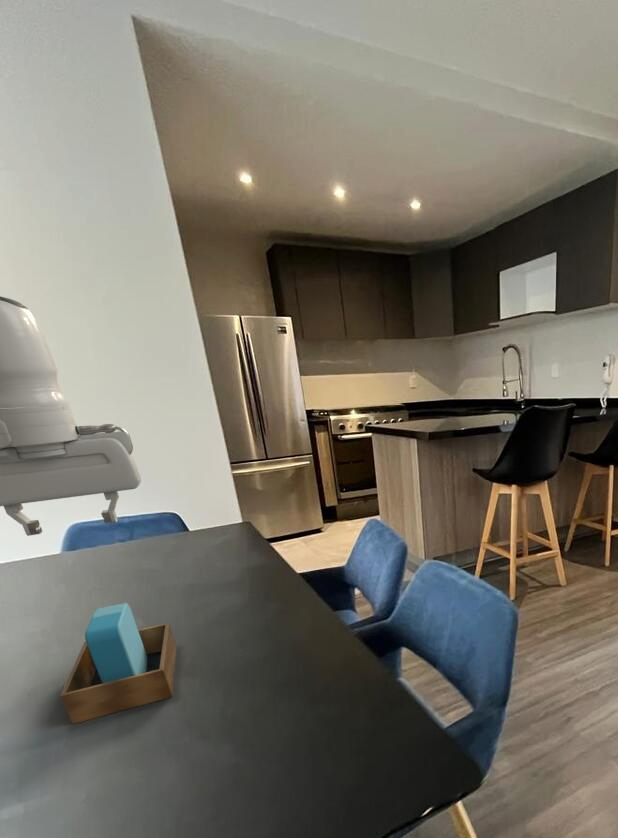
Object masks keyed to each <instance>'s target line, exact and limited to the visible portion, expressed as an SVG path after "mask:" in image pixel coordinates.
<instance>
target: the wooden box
mask: <svg viewBox="0 0 618 838" xmlns="http://www.w3.org/2000/svg"><path fill="white" fill-rule="evenodd" d="M171 627H172V626H171V625H170V622H166V623H162V624H158V625H154V626H149V627H144V628H139V629H138V632H139V634H140V637H141V640H142V643H143V646H144V649H145V652H146V655H147V656H148V655H151V654H155V653H159V652H161V654H160V661H159V669H155V670H150V671H146V673H143V674H139V675H135V676H131V677H127V678H123V679H119V680H115V681H111V682H107V683H100V684H96V685H92V683H93V681H94V677H95V675H96V673H97V668H96V666H95V664H94V661H93V659H92V656H91V654H90V651H89V649H88V646H87V643H86V640H85V641H84V642H83V644H82V646H81V649H80V651H79V653H78V655H77V657H76V659H75V662H74V664H73V666H72V669H71V671H70V673H69V676H68V678H67V680H66V682H65V684H64V687H63V689H62V691H61V693H60V700H61V702H62V703H63V706H64V708H65V710H66V713H67V715H68V717H69V719H70V722H71V724H72V725H74V724H78V723H81V722H85V721H90V720H93V719H97V718H100V717H102V716H107V715H111V714H115V713H118V712H121V711H126V710H129V709H133V708H136V707H141V706H143V705H147V704H152V703H154V702H157V701H162V700H166V699H169V698H172V697H173V693H174V683H175V682H174V680H175V670H176V669H175V668H176V657H177V643H176V640H175V636H174V634H173V631H172V628H171Z"/></svg>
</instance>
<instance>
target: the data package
mask: <svg viewBox="0 0 618 838" xmlns="http://www.w3.org/2000/svg"><path fill="white" fill-rule="evenodd" d="M138 630H139V629H138V626H137V623H136V621H135V618H134V614H133V612H132V609H131V606H130V605H129V604H128V602H123V603H119V604H115V605H110V606H109V605H108V606H104V607H99V608H96V609H95V610H94V613H93V615H92V616H91V619H90V622H89V624H88V625H87V628H86V631H85V634H84V638H85V641H86V643H87V646H88V649H89V651H90V654H91V656H92V659H93V661H94V664H95V666H96V668H97V669H96V672H97V673H98V676H99V678H100V680H101V684H103V683H107V682H111V681H115V680H119V679H123V678H127V677H131V676H135V675H139V674H143V673H146V672H148V671H147V670H148V665H149V660H148V655H146V652H145V649H144V646H143V643H142V640H141V637H140V634H139V632H138Z"/></svg>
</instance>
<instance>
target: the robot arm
mask: <svg viewBox="0 0 618 838" xmlns="http://www.w3.org/2000/svg"><path fill="white" fill-rule="evenodd" d="M116 430H117V431H116ZM133 450H134V447H133V442H132V439H131V436H130V434H129V432H128V431H127V430H125V429H124V428H122V427H120V426H117V425H115V424H114V423H104V424H100V425H80V426H77V423H76V421H75V418H74V415H73V412H72V409H71V407H70V404H69V400H68V399H67V398H66V396H65V395H64V393H63V392H62V389H61V388H60V385H59V381H58V368H57V366H56V364H55V360H54V358H53V355H52V353H51V349H50V347H49V345H48V343H47V340H46V337H45V335H44V333H43V331H42V329H41V327H40V324H39V323H38V321H37V319H36V318H35V316H34V314H33V313H32V311H31V310H30V309H29V308H28V307H27V306H25V305H23V303H21V302H20V301H17V300H15V299H12V298H9V297H5V296H0V507H3V508H4V510H5V513H6V515H8V516H9V517H11V519H13V520H14V521H16V522H17V523H18V524H20V525H21V526H22V528H23V531H24V532H25V535H26V536H27V537H30V536H35V535H41V534H42V533H43V529H42V526H40V525H41V524H40V521H39V519H34V520H32V519H30V518H29V517H27V515H25V514H24V513H23V512H21V511H22V510H23V509H24V507H23V504H31V503H36V502H44V501H45V502H46V501H52V500H60V499H68V498H74V497H75V498H76V497H83V496H91V495H99V494H103V496H104V499H105V501H110V502H109V505H108V508H107V509H105V510H102V511H101V513H100V514H101V516H102V517H101V518H103V523H104V524H105V525H108V524H110V525H111V524H117V523H118V516H117V514H116V507H117V504H118V500H119V497H120V495H119V493H118V492H122V491H123V492H124V491H129V490H135V489H137V488H138V487H139V486H140V485H141V482H142V476H141V473H140V471H139V469H138V466H137V464H136V462H135V459H134V456H133V455H132V453H133Z"/></svg>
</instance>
